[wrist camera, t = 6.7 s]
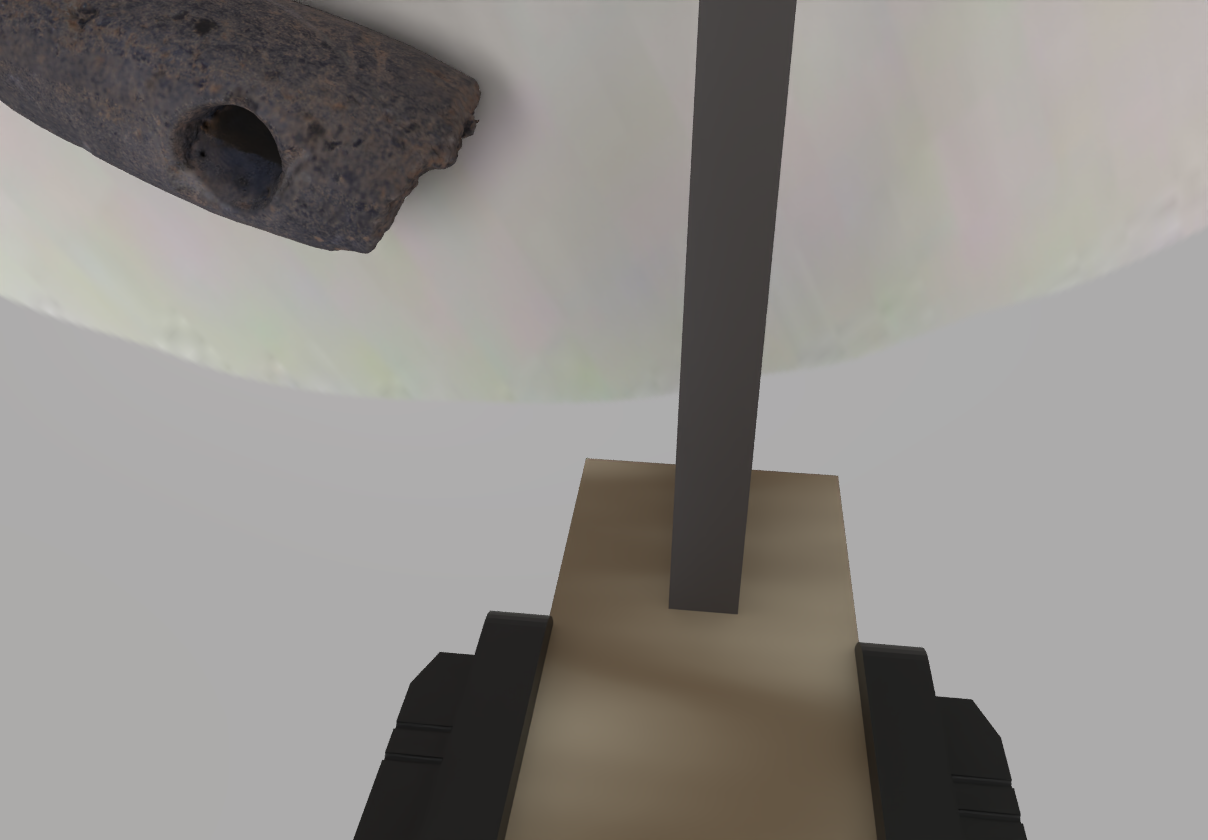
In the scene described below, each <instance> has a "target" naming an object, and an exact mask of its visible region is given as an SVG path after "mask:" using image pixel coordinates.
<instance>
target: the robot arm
mask: <svg viewBox="0 0 1208 840" xmlns="http://www.w3.org/2000/svg"><path fill="white" fill-rule="evenodd" d="M552 627H553V618H552V616H548V615H536V614H524V613H510V612H500V611H490V612H489V613H488V614H487V617H486V619H485V622H484V625H483V629H482V632H481V635H480V638H479V642H478V645H477V649H476V652H475V655H469V654H457V653H446V652H445V653H444V652H439V654H438V655H437V656H436V657H435V658H434V659H433V660H432V661H431V662H430V663H429V664H428V665H427V666H426V668H424V669H423V670H422V671H421V673H420V674H419V675H418V676H417V677H416V678H415V679H414V680H413V681H412V682H411V683H410V686H409V688H408V691H407V694H406V696H405V699H404V702H403V705H402V707H401V710H400V713H399V716H398V719H397V724H396V728H395V729H393V732H392V735H391V738H390V741H389V743H388V746H387V749H386V752H385V759H384V760H382V762H381V765H380V768H379V770H378V773H377V776H376V779H375V781H374V784H373V787H372V790H371V792H370V795H369V798H368V801H367V803H366V806H365V809H364V812H363V814H362V817H361V820H360V822H359V825H358V828H357V831H356V834H355V836H354V839H353V840H505V836H506V831H507V827H508V822H509V818H510V813H511V809H512V805H513V800H514V796H515V791H516V787H517V782H518V778H519V773H520V769H521V765H522V760H523V756H524V751H525V747H526V742H527V738H528V733H529V729H530V724H531V720H532V716H533V711H534V707H535V702H536V698H537V693H538V689H539V684H540V680H541V676H542V671H543V667H544V662H545V658H546V653H547V649H548V644H549V640H550V636H551V631H552ZM855 657H856V666H857V674H858V683H859V691H860V700H861V708H862V717H863V725H864V733H865V742H866V750H867V759H868V767H869V776H870V784H871V793H872V801H873V810H874V818H875V826H876V835H877V840H1027V838H1026V834H1025V830H1024V826H1023V824H1021V822H1020V810H1019V807H1018V802H1017V799H1016V795H1015V791H1014V788H1012V786H1011V781H1012V779H1011V775H1010V772H1009V767H1008V764H1007V760H1006V756H1005V752H1004V748H1003V744H1002V740H1001V737H1000V736H999V735H998V733H997V732H996V731H995V729H994V728H993V727H992V725H991V724H990V723H989V721H988V720H987V719H986V717H985V716H984V715H983V714H982V712H981V711H980V709H979V708H978V707H977V705H976V704H975V703H974V702H973V700H971V699H961V698H949V697H938V696H935V691H934V686H933V681H932V675H931V671H930V666H929V660H928V656H927V654H926V651H925V649H924V648H921V647H908V646H896V645H885V644H873V643H861V642H858V643H857V644H856V646H855Z"/></svg>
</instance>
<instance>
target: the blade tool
mask: <svg viewBox="0 0 1208 840" xmlns="http://www.w3.org/2000/svg"><path fill="white" fill-rule="evenodd" d="M796 1H797V0H699V18H698V37H697V57H696V77H695V97H694V116H693V136H692V156H691V175H690V195H689V215H688V234H687V254H686V274H685V293H684V313H683V333H682V352H681V372H680V392H679V411H678V431H677V432H678V433H677V451H676V464H660V463H646V462H633V461H617V460H603V459H589V458H586V461H585V465H584V469H583V474H582V478H581V483H580V487H579V491H578V495H577V500H576V504H575V508H574V513H573V517H572V521H571V526H570V530H569V534H568V539H567V543H566V547H565V552H564V556H563V560H562V565H561V569H560V573H559V577H558V582H557V586H556V590H555V595H554V599H553V603H552V608H551V612H550V616H552V618H553V627H552V631H551V636H550V640H549V644H548V649H547V653H546V658H545V662H544V667H543V671H542V676H541V680H540V684H539V689H538V693H537V698H536V702H535V707H534V711H533V716H532V720H531V724H530V729H529V733H528V738H527V742H526V747H525V751H524V756H523V760H522V765H521V769H520V773H519V778H518V782H517V787H516V791H515V796H514V800H513V805H512V809H511V813H510V818H509V822H508V827H507V831H506V836H505V840H877V835H876V826H875V818H874V810H873V801H872V793H871V784H870V776H869V767H868V759H867V750H866V742H865V733H864V725H863V717H862V708H861V700H860V691H859V683H858V674H857V666H856V657H855V646H856V644H857V643H858V642H859V640H858V632H857V624H856V616H855V608H854V600H853V592H852V584H851V576H850V568H849V560H848V552H847V544H846V536H845V528H844V520H843V512H842V504H841V496H840V488H839V481H838V476H833V475H820V474H805V473H791V472H790V473H789V472H776V471H761V470H752V460H753V449H754V439H755V429H756V418H757V408H758V397H759V387H760V377H761V367H762V356H763V346H764V335H765V325H766V314H767V304H768V294H769V283H770V273H771V262H772V252H773V241H774V231H775V221H776V210H777V200H778V189H779V179H780V168H781V158H782V147H783V137H784V127H785V116H786V106H787V95H788V85H789V74H790V64H791V54H792V43H793V33H794V22H795V12H796Z"/></svg>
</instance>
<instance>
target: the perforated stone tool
mask: <svg viewBox="0 0 1208 840" xmlns="http://www.w3.org/2000/svg"><path fill="white" fill-rule="evenodd" d="M480 94H481V92H480V90H479V86H478V83H477V81H476V80H475V79H473V78H471V77H469V76H467V75H465V74H464V73H462V72H460V71H458V70H457V69H455V68H453V67H450V66H448V65H447V64H445V63H443V62H441V61H439V60H437V59H435V58H432V57H431V56H429V55H428V54H426V53H423V52H422V51H420V50H417V49H415V48H413V47H411V46H409V45H406V44H404V43H402V42H400V41H397V40H394V39H392V38H389V37H387V36H385V35H383V34H380V33H378V32H375V31H373V30H371V29H369V28H366V27H363V26H361V25H358V24H356V23H353V22H350V21H348V20H345V19H342V18H340V17H337V16H334V15H332V14H329V13H326V12H323V11H320V10H317V9H314V8H311V7H309V6H305V5H302V4H300V3H297V2H295V1H292V0H0V100H1V101H2V102H3V103H5V104H6V105H7V106H9V107H10V108H11V109H13V110H14V111H16V112H17V113H19V114H20V115H22V116H24V117H25V118H27V119H29V120H30V121H32V122H33V123H35V124H37V125H38V126H40V127H42V128H44V129H46V130H48V131H49V132H51V133H53V134H55V135H57V136H59V137H61V138H63V139H64V140H66V141H69V142H71V143H73V144H75V145H77V146H80V147H82V148H84V149H86V150H87V151H89V152H90V153H92V154H93V155H94V156H96V157H98V158H100V159H102V160H104V161H105V162H107V163H109V164H111V165H113V166H115V167H117V168H119V169H121V170H123V171H125V172H127V173H129V174H131V175H133V176H135V177H137V178H139V179H141V180H143V181H145V182H147V183H149V184H151V185H153V186H155V187H158V188H160V189H162V190H164V191H166V192H168V193H170V194H173V195H175V196H177V197H179V198H182V199H184V200H186V201H188V202H190V203H193V204H195V205H197V206H199V207H201V208H203V209H205V210H207V211H210V212H212V213H214V214H217V215H220V216H223V217H225V218H228V219H231V220H233V221H236V222H239V223H243V224H246V225H249V226H252V227H255V228H258V229H261V230H265V231H267V232H270V233H273V234H276V235H278V236H282V237H285V238H288V239H291V240H294V241H297V242H300V243H303V244H306V245H309V246H312V247H316V248H320V249H325V250H329V251H334V250H336V251H338V250H347V251H356V252H360V253H365V254H366V253H369V252H371V251H372V250H374V249H375V247H376V245H377V243H378V242H379V241H380V240H381V239H382V237H383V235H384V233H385V232H386V231H387V230H389V229H390V227H391V225H392V224H393V222H394V219H395V216H396V215H397V213H398V211H399V209H400V207H401V205H402V203H403V202H404V198H405V197H406V196H408V195H409V194H410V193H411V192H412V190H413V189H414V188H415V187H416V186H417V185H418V179H419V177H420V176H421V175H423V174H425V173H426V172H428V171H430V170H433V169H445V168H448V167H450V166H452V165H453V164H454V163H455V162H456V159H457V157H458V151H459V150H460V149H461V147H462V139H461V138H466V137H468V136H471V135H473V133H474V130H475V128H476V123H478V122H479V120H478V121H477V120H475V119H474V116H473V114H474V110H475V108H476V107H477V105H478V102H479V99H480Z"/></svg>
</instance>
